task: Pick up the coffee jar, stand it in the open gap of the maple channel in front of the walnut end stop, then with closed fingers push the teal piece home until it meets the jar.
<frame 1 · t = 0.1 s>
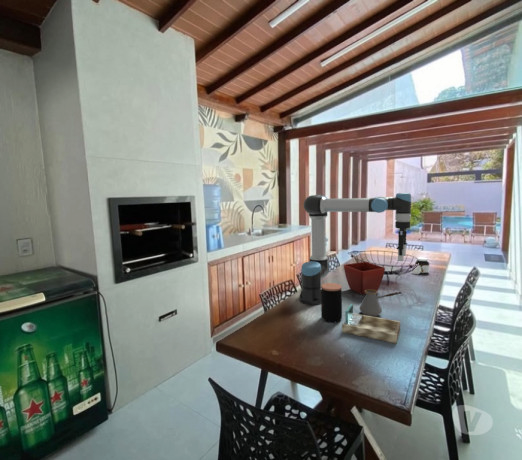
hand: (401, 258, 169), 28 cm above the table, fingers open, 13 cm apart
plant pot: (363, 291, 200), on the table
channel: (371, 330, 144), on the table
coffee pot: (380, 316, 160), on the table
spread jar: (420, 273, 235), on the table
teal piece: (353, 316, 148), point 5 cm above the table, slide at 0.0 cm
coffee jar: (331, 319, 159), on the table
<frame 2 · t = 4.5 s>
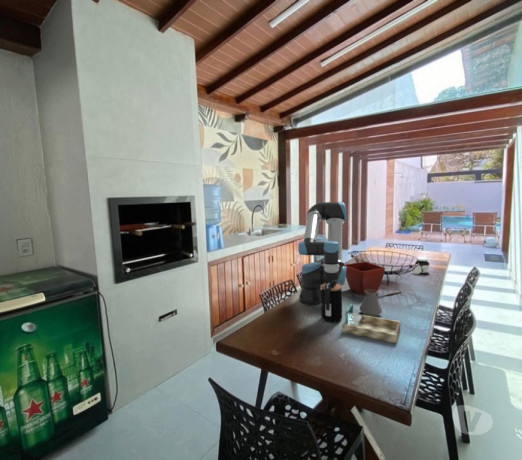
hand: (331, 311, 159), 4 cm above the table, fingers closed on coffee jar, 10 cm apart
coffee jar: (331, 319, 159), on the table, touching gripper
everything else where it was.
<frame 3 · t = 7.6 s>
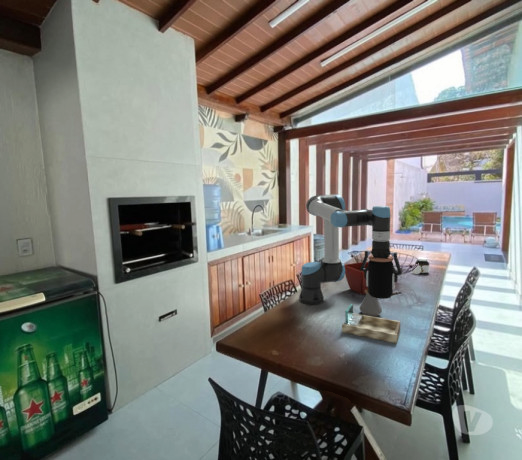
hand: (380, 287, 139), 22 cm above the table, fingers closed on coffee jar, 10 cm apart
coffee jar: (380, 295, 140), point 18 cm above the table, touching gripper
everything else where it was.
when the fingers open (5 cm above the table, at t = 10.9 s): coffee jar stays where it is, resting on channel.
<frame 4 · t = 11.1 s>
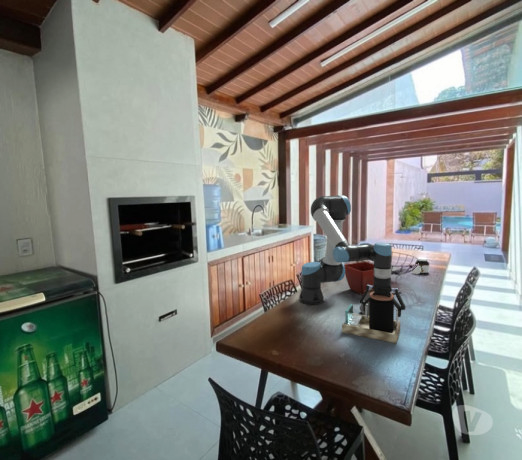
hand: (381, 320, 141), 6 cm above the table, fingers open, 13 cm apart
coffee jar: (381, 331, 142), resting on channel
everything else where it was.
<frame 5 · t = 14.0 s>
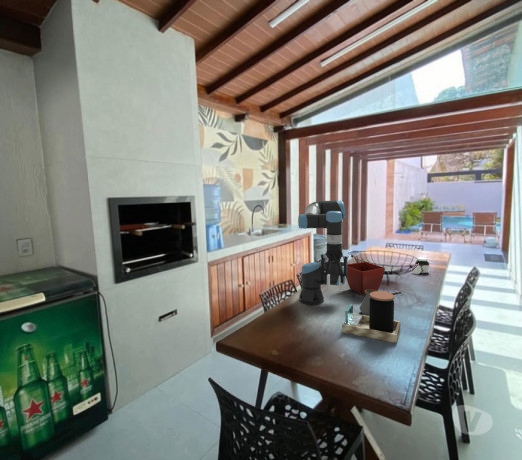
hand: (334, 288, 151), 19 cm above the table, fingers open, 5 cm apart
nothing on the table moved.
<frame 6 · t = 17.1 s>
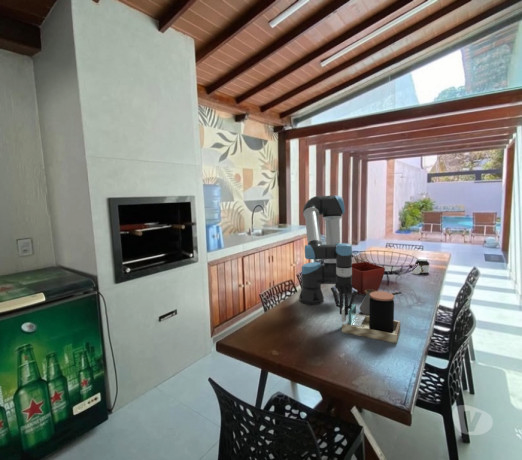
hand: (343, 320, 150), 3 cm above the table, fingers closed
teal piece: (356, 317, 147), point 5 cm above the table, slide at 1.5 cm, touching gripper
everything else where it was.
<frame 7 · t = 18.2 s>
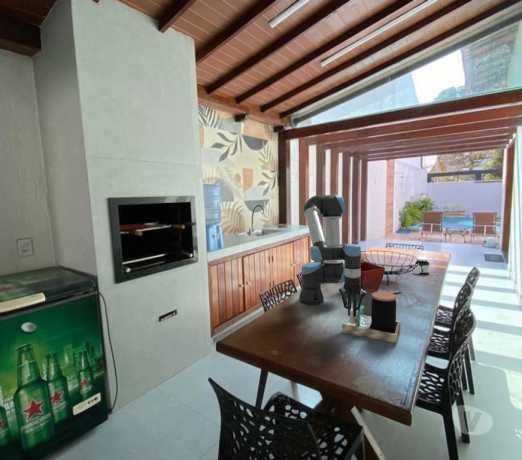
hand: (352, 322, 148), 3 cm above the table, fingers closed
teal piece: (365, 319, 145), point 5 cm above the table, slide at 5.6 cm, touching coffee jar, gripper
coffee jar: (383, 332, 141), resting on channel, touching teal piece
everything else where it was.
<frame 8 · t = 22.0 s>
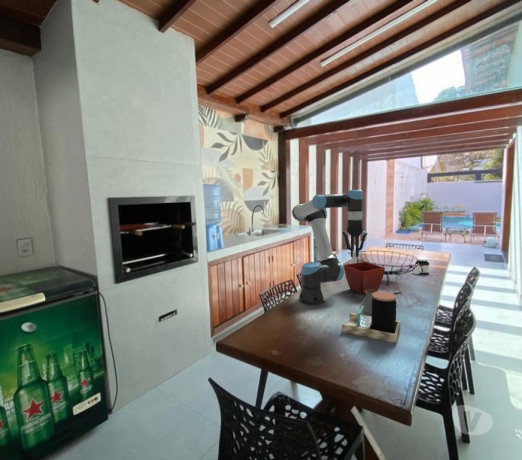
hand: (354, 262, 161), 28 cm above the table, fingers closed
teal piece: (365, 319, 145), point 5 cm above the table, slide at 5.6 cm
coffee jar: (383, 332, 141), resting on channel
everything else where it was.
at the end: coffee jar inside the target area on the channel (0.3 cm from its centre), point 0.4 cm above the channel's base; coffee jar tilted 0°; teal piece slide at 5.6 cm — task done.
